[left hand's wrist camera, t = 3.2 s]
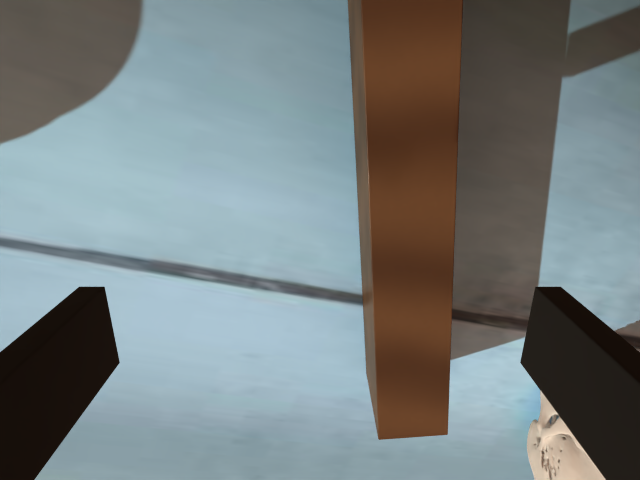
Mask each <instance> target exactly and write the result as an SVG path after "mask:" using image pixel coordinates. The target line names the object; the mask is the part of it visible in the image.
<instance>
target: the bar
mask: <svg viewBox="0 0 640 480" xmlns="http://www.w3.org/2000/svg"><path fill="white" fill-rule="evenodd" d="M462 10H463V0H348V13H349V33H350V53H351V73H352V93H353V113H354V133H355V153H356V173H357V193H358V213H359V233H360V253H361V273H362V293H363V314H364V334H365V354H366V374H367V379H368V385H369V390H370V395H371V401H372V406H373V412H374V417H375V423H376V428H377V434H378V439H379V440H381V439H395V438H408V437H422V436H436V435H447V434H448V409H449V380H450V352H451V323H452V295H453V266H454V238H455V209H456V181H457V153H458V124H459V96H460V67H461V39H462Z"/></svg>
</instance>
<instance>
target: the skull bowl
mask: <svg viewBox="0 0 640 480" xmlns="http://www.w3.org/2000/svg"><path fill="white" fill-rule="evenodd" d="M540 398H541V411H540V416H539V419H538V421H537V420H533V421H532V423H531V425H530V428H529V433H528V438H527V452H528V457H529V461H530V465H531V468H532V471H533V474H534V479H535V480H606V479H605V478H604V477H603V475H602V474H601V472H600V471H599V470H598V468H597V467H596V466H595V464H594V463H593V462H592V460H591V459H590V457H589V456H588V455H587V453H586V452H585V451H584V449H583V448H582V446H581V445H580V444H579V442H578V441H577V440H576V438H575V437H574V435H573V434H572V433H571V431H570V430H569V429H568V427H567V426H566V424H565V423H564V422H563V420H562V419H561V418H560V416H559V415H558V413H557V412H556V411H555V409H554V408H553V407H552V405H551V404H550V403H549V401H548V400H547V398H546V397H545V396H544V394H543V393H542V392H541V390H540ZM557 415H558V416H559V418H558V419H557V421H556V418H557ZM552 416H553V417H552ZM551 417H552V422H551V424H550V421H549V420H550V418H551Z"/></svg>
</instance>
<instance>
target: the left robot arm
mask: <svg viewBox="0 0 640 480" xmlns="http://www.w3.org/2000/svg"><path fill="white" fill-rule="evenodd" d="M119 363H120V362H119V357H118V352H117V347H116V342H115V337H114V332H113V327H112V322H111V317H110V312H109V307H108V302H107V297H106V292H105V287H79V288H77V289H76V290H75V291H74V292H73V293H71V294H70V295H69V296H68V297H66V298H65V299H64V300H63V301H62V302H60V303H59V304H58V305H57V306H56V307H54V308H53V309H52V310H51V311H50V312H48V313H47V314H46V315H45V316H44V317H42V318H41V319H40V320H39V321H38V322H36V323H35V324H34V325H33V326H31V327H30V328H29V329H28V330H27V331H25V332H24V333H23V334H22V335H21V336H19V337H18V338H17V339H16V340H15V341H13V342H12V343H11V344H10V345H9V346H7V347H6V348H5V349H4V350H2V351H1V352H0V480H34V479H35V478H36V477H37V475H38V474H39V472H40V471H41V470H42V468H43V467H44V466H45V464H46V463H47V462H48V460H49V459H50V457H51V456H52V455H53V453H54V452H55V451H56V449H57V448H58V446H59V445H60V444H61V442H62V441H63V440H64V438H65V437H66V435H67V434H68V433H69V431H70V430H71V429H72V427H73V426H74V424H75V423H76V422H77V420H78V419H79V418H80V416H81V415H82V413H83V412H84V411H85V409H86V408H87V407H88V405H89V404H90V403H91V401H92V400H93V398H94V397H95V396H96V394H97V393H98V392H99V390H100V389H101V387H102V386H103V385H104V383H105V382H106V381H107V379H108V378H109V376H110V375H111V374H112V372H113V371H114V370H115V368H116V367H117V365H118V364H119ZM520 363H521V364H522V365H523V367H524V368H525V370H526V371H527V372H528V374H529V375H530V376H531V378H532V379H533V381H534V382H535V383H536V385H537V386H538V387H539V389H540V390H541V392H542V393H543V394H544V396H545V397H546V398H547V400H548V401H549V403H550V404H551V405H552V407H553V408H554V409H555V411H556V412H557V413H558V415H559V416H560V418H561V419H562V420H563V422H564V423H565V424H566V426H567V427H568V429H569V430H570V431H571V433H572V434H573V435H574V437H575V438H576V440H577V441H578V442H579V444H580V445H581V446H582V448H583V449H584V451H585V452H586V453H587V455H588V456H589V457H590V459H591V460H592V462H593V463H594V464H595V466H596V467H597V468H598V470H599V471H600V472H601V474H602V475H603V477H604V478H605V479H606V480H640V352H639V351H638V350H636V349H635V348H634V347H633V346H631V345H630V344H629V343H628V342H627V341H625V340H624V339H623V338H622V337H621V336H619V335H618V334H617V333H616V332H615V331H613V330H612V329H611V328H610V327H609V326H607V325H606V324H605V323H604V322H602V321H601V320H600V319H599V318H598V317H596V316H595V315H594V314H593V313H592V312H590V311H589V310H588V309H587V308H586V307H584V306H583V305H582V304H581V303H580V302H578V301H577V300H576V299H575V298H574V297H572V296H571V295H570V294H569V293H567V292H566V291H565V290H564V289H563V288H561V287H535V292H534V297H533V302H532V307H531V312H530V317H529V322H528V327H527V332H526V337H525V342H524V347H523V352H522V357H521V362H520Z"/></svg>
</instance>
